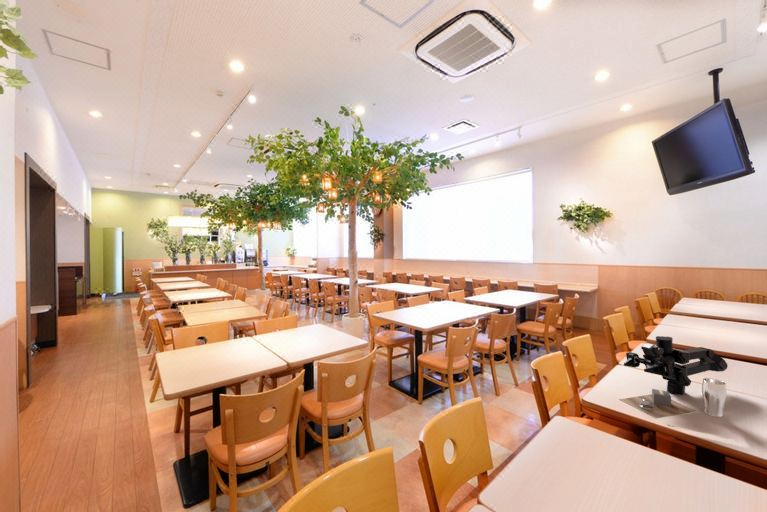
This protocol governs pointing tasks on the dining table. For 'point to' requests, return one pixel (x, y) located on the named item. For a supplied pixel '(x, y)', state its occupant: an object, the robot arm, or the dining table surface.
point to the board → (658, 407)
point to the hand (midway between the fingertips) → (633, 367)
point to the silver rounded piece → (645, 404)
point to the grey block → (661, 397)
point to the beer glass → (714, 396)
